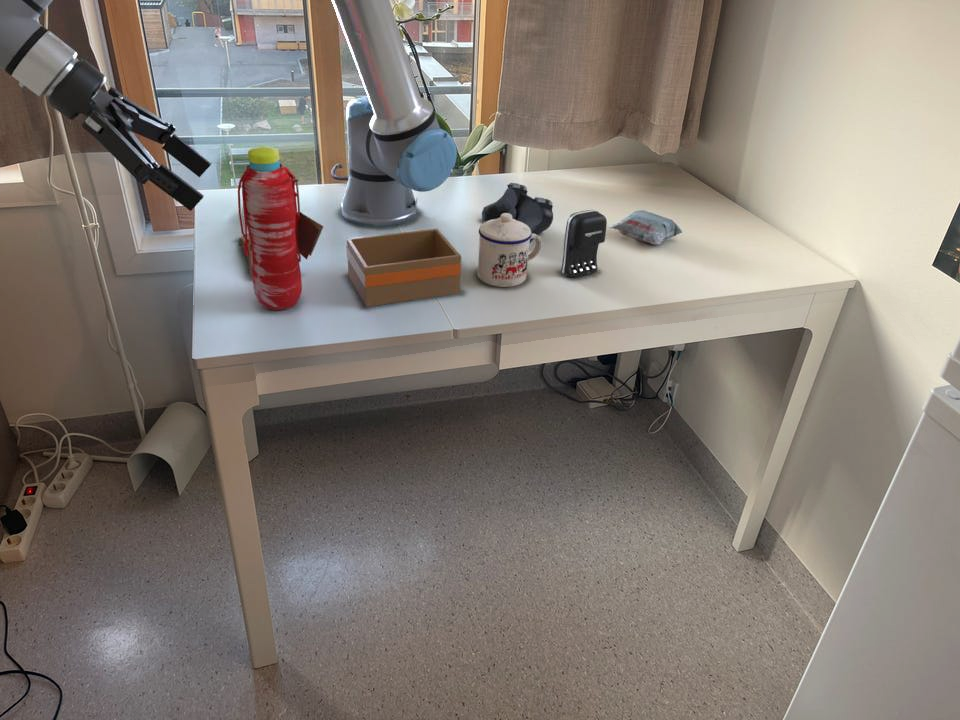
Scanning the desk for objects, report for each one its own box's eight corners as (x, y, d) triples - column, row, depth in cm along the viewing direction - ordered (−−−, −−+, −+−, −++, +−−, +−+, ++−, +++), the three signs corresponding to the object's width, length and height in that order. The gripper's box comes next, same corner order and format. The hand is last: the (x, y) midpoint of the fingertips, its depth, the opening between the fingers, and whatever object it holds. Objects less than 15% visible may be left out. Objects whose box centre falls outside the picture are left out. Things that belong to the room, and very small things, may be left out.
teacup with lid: (491, 292, 127) (495, 228, 121) (467, 270, 134) (470, 208, 128) (550, 280, 132) (558, 218, 126) (525, 259, 139) (530, 200, 133)
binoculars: (544, 256, 147) (569, 210, 144) (520, 247, 142) (545, 199, 140) (499, 226, 158) (521, 183, 156) (476, 217, 154) (498, 172, 151)
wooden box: (347, 276, 130) (345, 238, 126) (436, 264, 136) (437, 228, 132) (365, 307, 121) (364, 268, 117) (459, 293, 126) (461, 256, 123)
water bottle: (314, 282, 127) (303, 135, 113) (332, 303, 121) (322, 150, 108) (243, 297, 122) (222, 144, 108) (259, 319, 116) (239, 161, 102)
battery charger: (571, 281, 133) (579, 220, 126) (559, 272, 135) (566, 212, 129) (602, 274, 136) (611, 214, 130) (589, 265, 138) (598, 207, 132)
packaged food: (659, 254, 144) (664, 230, 142) (607, 235, 151) (611, 212, 148) (680, 242, 150) (686, 218, 147) (630, 224, 156) (634, 202, 154)
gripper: (67, 77, 108) (193, 175, 120) (18, 126, 88) (175, 238, 99) (98, 38, 107) (223, 141, 118) (56, 79, 86) (211, 199, 98)
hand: (201, 186), depth 109 cm, fingers open, 13 cm apart
